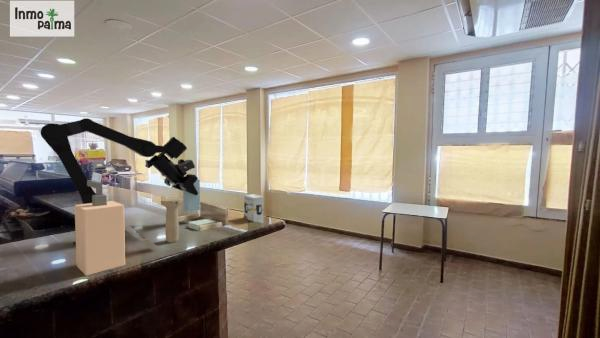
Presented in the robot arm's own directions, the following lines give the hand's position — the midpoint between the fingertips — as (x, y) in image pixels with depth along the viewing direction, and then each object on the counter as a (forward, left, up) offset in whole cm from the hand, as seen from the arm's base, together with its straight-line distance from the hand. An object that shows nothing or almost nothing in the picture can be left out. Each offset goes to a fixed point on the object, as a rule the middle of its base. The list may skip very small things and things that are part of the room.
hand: (194, 193), depth 113 cm
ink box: (+14, -19, -13) cm, 27 cm away
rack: (0, -4, -13) cm, 14 cm away
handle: (-23, -11, -13) cm, 28 cm away
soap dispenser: (-41, -4, -13) cm, 43 cm away
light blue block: (-1, +1, -7) cm, 7 cm away
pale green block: (-5, -8, -12) cm, 15 cm away
